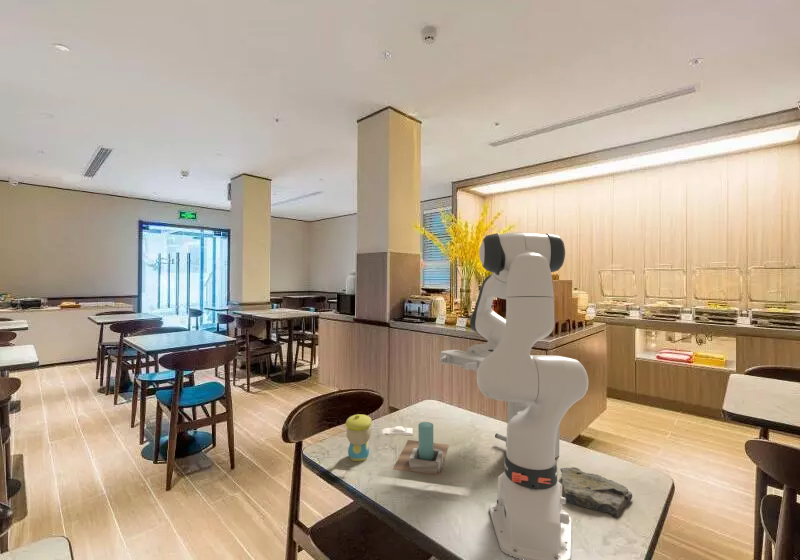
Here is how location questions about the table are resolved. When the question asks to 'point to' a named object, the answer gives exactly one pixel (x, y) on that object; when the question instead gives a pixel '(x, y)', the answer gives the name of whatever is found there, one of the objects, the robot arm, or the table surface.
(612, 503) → the stone
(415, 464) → the walnut board
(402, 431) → the toy car
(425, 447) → the teal peg
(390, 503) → the table surface
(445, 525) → the table surface
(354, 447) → the toy
